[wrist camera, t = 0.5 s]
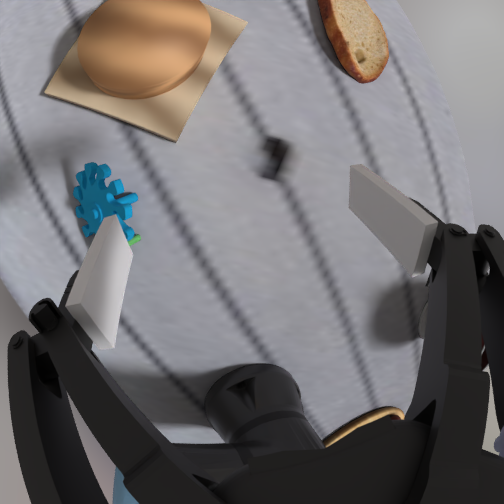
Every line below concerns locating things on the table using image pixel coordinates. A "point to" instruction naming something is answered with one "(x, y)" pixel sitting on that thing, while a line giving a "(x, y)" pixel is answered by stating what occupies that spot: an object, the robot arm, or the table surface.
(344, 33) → the slice of bread
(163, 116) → the bread on wooden board
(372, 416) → the wooden plate with food
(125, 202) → the gear
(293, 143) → the table surface
